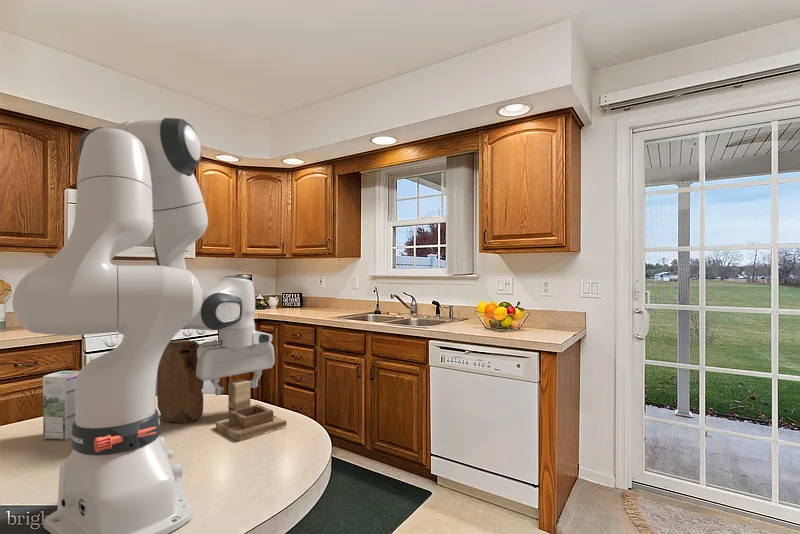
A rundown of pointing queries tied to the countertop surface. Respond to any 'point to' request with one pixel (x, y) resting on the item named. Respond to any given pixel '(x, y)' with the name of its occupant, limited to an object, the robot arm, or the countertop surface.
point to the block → (179, 383)
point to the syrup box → (59, 404)
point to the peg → (238, 394)
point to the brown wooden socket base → (250, 422)
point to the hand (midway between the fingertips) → (237, 390)
